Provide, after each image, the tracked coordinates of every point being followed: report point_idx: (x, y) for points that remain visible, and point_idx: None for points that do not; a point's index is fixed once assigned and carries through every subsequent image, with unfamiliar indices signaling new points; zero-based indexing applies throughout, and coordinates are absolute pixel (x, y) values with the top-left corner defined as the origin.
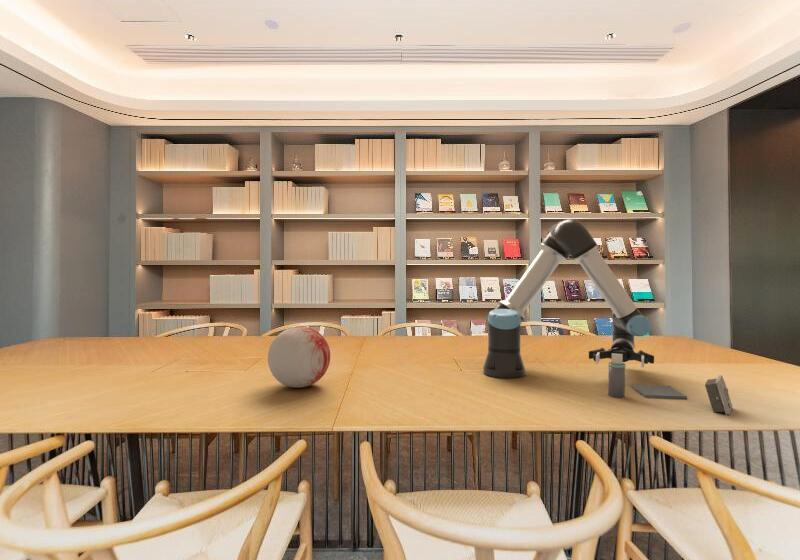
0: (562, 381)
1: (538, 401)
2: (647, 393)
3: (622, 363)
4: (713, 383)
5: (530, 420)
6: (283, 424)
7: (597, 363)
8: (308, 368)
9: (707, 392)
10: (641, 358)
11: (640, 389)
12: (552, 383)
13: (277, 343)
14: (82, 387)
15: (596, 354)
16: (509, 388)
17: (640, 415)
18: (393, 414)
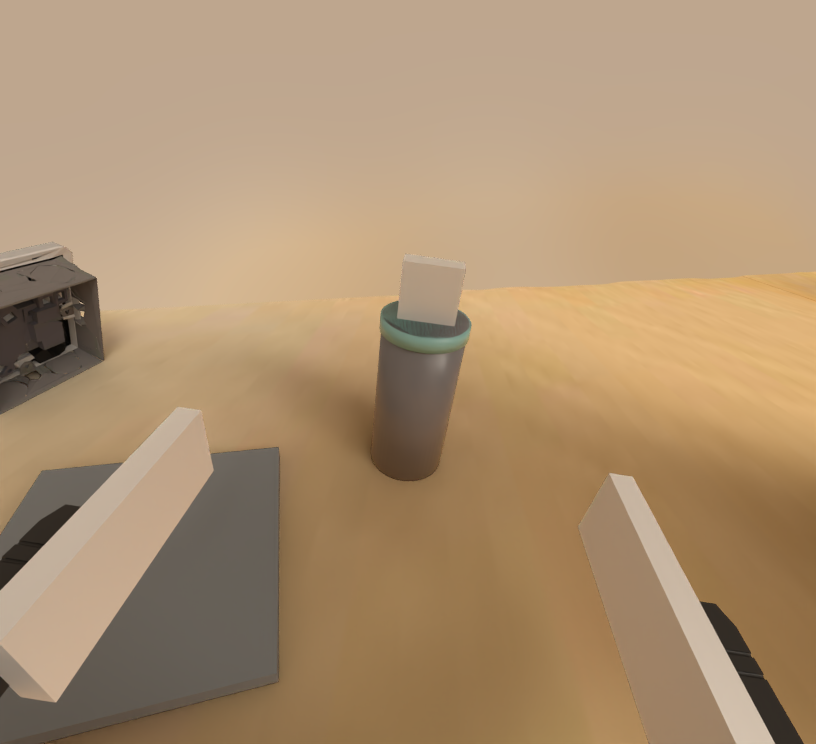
0: (785, 687)
1: (614, 363)
2: (253, 471)
3: (395, 322)
4: (62, 265)
5: (557, 295)
6: (781, 275)
7: (585, 527)
8: None
9: (98, 302)
10: (185, 428)
11: (257, 541)
12: (773, 592)
13: None
14: None
15: (665, 542)
16: (800, 448)
17: (356, 325)
18: (741, 296)
